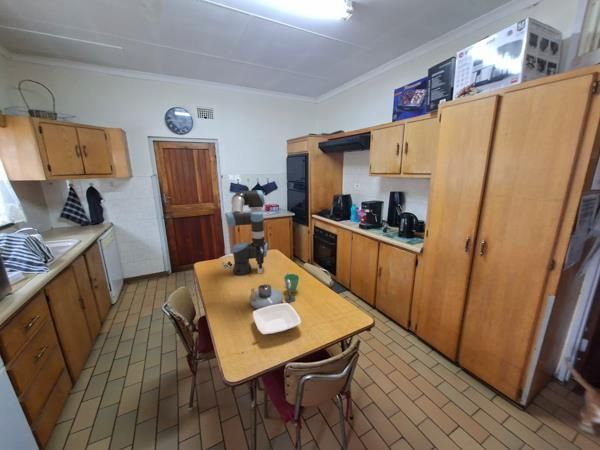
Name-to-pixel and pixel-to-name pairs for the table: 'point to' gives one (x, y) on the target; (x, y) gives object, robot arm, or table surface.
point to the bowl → (276, 318)
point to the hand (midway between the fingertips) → (260, 272)
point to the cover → (264, 291)
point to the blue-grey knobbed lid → (265, 299)
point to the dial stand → (290, 297)
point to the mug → (292, 281)
